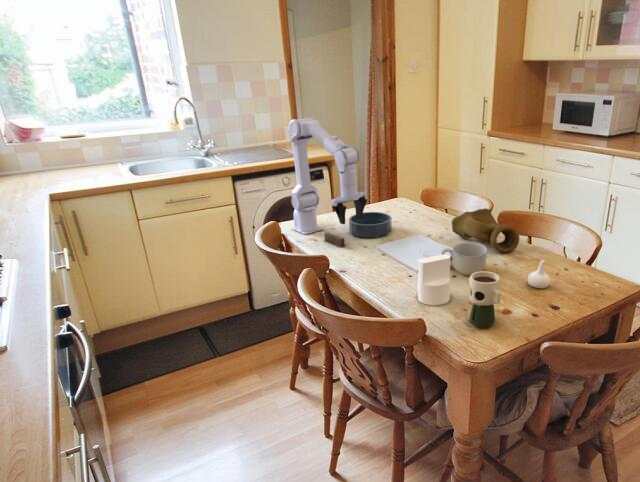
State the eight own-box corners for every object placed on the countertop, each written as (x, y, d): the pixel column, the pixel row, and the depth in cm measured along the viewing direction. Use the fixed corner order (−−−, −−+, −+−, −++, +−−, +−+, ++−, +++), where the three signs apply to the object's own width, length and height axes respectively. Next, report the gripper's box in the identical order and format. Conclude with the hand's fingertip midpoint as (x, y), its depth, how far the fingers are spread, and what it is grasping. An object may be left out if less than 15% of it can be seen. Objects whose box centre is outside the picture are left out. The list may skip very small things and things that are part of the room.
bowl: (341, 232, 185) (340, 218, 183) (372, 222, 195) (371, 209, 193) (368, 242, 173) (368, 228, 171) (400, 231, 184) (400, 217, 182)
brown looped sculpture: (502, 212, 178) (527, 220, 157) (492, 244, 180) (515, 257, 159) (457, 200, 174) (477, 207, 153) (447, 233, 177) (466, 244, 156)
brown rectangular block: (324, 241, 176) (324, 233, 175) (328, 239, 177) (327, 231, 176) (341, 247, 169) (340, 239, 168) (345, 246, 170) (344, 238, 169)
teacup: (488, 266, 150) (489, 243, 147) (483, 280, 140) (484, 256, 137) (445, 262, 154) (446, 239, 151) (438, 275, 145) (438, 252, 142)
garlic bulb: (524, 280, 140) (527, 256, 137) (545, 280, 139) (548, 255, 136) (530, 290, 134) (532, 264, 131) (552, 290, 134) (555, 264, 130)
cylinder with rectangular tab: (427, 308, 126) (427, 267, 121) (412, 294, 134) (412, 255, 129) (455, 300, 129) (457, 261, 125) (439, 288, 137) (440, 250, 132)
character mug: (457, 317, 121) (459, 272, 116) (478, 310, 124) (481, 266, 119) (485, 337, 112) (489, 289, 107) (507, 328, 115) (512, 281, 110)
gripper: (339, 189, 152) (341, 228, 158) (372, 181, 161) (373, 218, 167) (326, 186, 157) (329, 224, 162) (359, 178, 166) (360, 214, 171)
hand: (350, 221), depth 165 cm, fingers open, 7 cm apart
